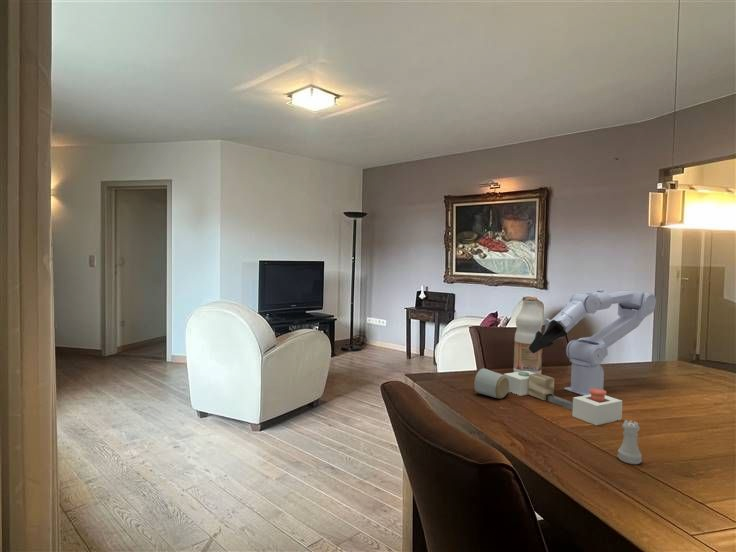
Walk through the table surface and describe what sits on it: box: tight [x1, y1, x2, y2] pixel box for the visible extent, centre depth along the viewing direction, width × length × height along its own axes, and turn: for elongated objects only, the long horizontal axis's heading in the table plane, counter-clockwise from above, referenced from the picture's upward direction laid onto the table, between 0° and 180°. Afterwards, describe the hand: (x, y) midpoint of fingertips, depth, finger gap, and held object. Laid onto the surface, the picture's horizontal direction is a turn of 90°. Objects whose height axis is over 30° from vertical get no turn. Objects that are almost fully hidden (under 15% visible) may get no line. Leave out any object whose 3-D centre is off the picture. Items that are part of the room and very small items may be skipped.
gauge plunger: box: [589, 388, 607, 403], centre depth 115 cm, size 4×4×4 cm
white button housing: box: [571, 394, 623, 426], centre depth 115 cm, size 10×7×5 cm
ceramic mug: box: [473, 367, 510, 399], centre depth 133 cm, size 11×8×8 cm
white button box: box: [503, 371, 536, 396], centre depth 138 cm, size 10×7×6 cm
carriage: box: [527, 373, 555, 401], centre depth 132 cm, size 4×6×6 cm, turn 26°
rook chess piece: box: [616, 419, 643, 465], centre depth 91 cm, size 4×4×8 cm
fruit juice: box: [513, 296, 544, 374], centre depth 157 cm, size 9×9×28 cm
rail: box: [545, 394, 573, 411], centre depth 127 cm, size 2×18×2 cm, turn 26°
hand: (536, 347), depth 129 cm, fingers open, 7 cm apart
